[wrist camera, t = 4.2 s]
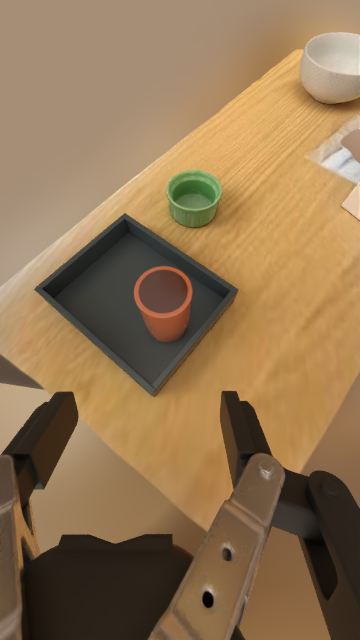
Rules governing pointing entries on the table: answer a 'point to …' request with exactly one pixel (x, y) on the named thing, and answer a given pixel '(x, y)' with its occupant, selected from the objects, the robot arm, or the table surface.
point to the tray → (133, 299)
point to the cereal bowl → (332, 67)
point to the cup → (164, 302)
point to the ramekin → (193, 197)
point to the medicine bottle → (353, 202)
